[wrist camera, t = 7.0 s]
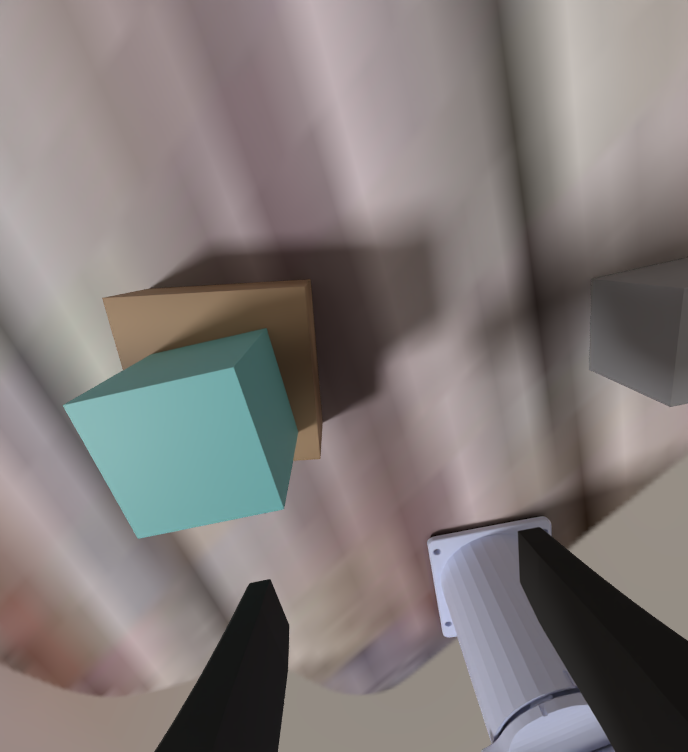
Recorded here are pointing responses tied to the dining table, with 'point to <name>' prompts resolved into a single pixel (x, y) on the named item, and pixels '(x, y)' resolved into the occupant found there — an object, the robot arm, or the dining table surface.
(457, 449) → the dining table surface
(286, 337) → the base block
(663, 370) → the gray cube
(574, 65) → the dining table surface
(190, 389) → the teal cube
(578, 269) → the dining table surface
